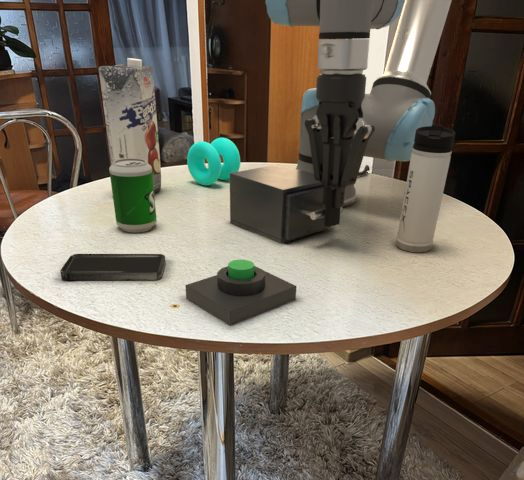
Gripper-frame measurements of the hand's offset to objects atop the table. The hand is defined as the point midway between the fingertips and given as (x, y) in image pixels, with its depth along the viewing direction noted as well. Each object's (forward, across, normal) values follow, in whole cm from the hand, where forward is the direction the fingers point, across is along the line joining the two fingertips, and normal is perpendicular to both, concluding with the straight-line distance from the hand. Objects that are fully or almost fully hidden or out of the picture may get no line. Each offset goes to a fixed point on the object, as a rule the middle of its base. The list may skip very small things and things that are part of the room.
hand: (331, 224), depth 90 cm
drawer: (+3, -10, 0) cm, 10 cm away
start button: (0, +6, -26) cm, 27 cm away
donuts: (+2, -47, +10) cm, 48 cm away
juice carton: (+2, -50, -10) cm, 50 cm away
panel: (+4, +6, -26) cm, 27 cm away
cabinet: (+3, -13, 0) cm, 14 cm away
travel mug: (+4, +10, +12) cm, 16 cm away
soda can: (+3, -30, -22) cm, 37 cm away
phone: (+3, -14, -35) cm, 38 cm away
